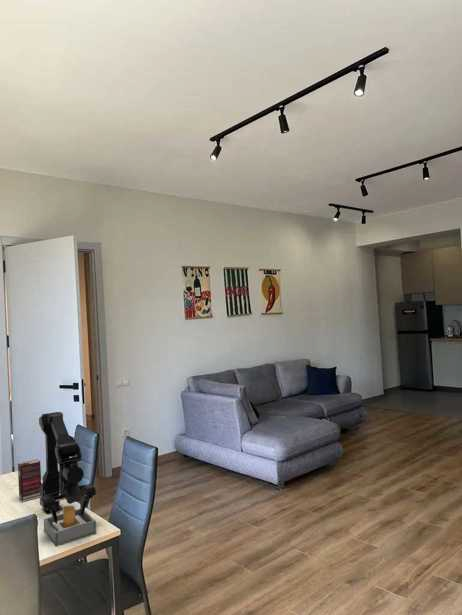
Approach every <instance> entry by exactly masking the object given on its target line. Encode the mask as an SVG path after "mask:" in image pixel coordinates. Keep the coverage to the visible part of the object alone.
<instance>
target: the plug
mask: <svg viewBox="0 0 462 615" xmlns="http://www.w3.org/2000/svg"><path fill="white" fill-rule="evenodd" d="M62 508H63V509H62V514H63V522H64V528H67V527H70V526H74V525H75V510H76V509H75V508H76V506H75V505H66V506H64V507H62Z"/></svg>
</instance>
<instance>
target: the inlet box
mask: <svg viewBox="0 0 462 615" xmlns="http://www.w3.org/2000/svg"><path fill="white" fill-rule="evenodd" d="M43 531H44V534H46V536H47V537H48V538H49V540H50V541H51V542H52V544H53V545H54V546H55V547H58V546H59V547H60V546H62V545H65V544H68V543H71V542H74V541H78V540H80V539H83V538H86V537H89V536H92V535H95V534H97V524H96V520H95V519H94V518H93V517H92V516H91V515H90V514H89V513H88V512H87V511H84V514H83V516H81V512H80V508H76V509H75V525H74V526H70V527H67V528H64V522H63V513H59V514H57V524H56V523H55V521H54V519H53V516H52V515H51V516H50V517H45V518H43Z"/></svg>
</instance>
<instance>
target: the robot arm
mask: <svg viewBox="0 0 462 615" xmlns="http://www.w3.org/2000/svg"><path fill="white" fill-rule="evenodd" d="M63 413H64V412H61V411H54V412H50V413H49V412H48V413H42V414H41V416H40V417H39V418H38V424H39V427H40V430H41V431H42V433H43V434H44V436H45V438H44V440H45V442H44V443H45V444H44V445H45V464H46V465H45V468H46V469H45V470H46V471H45V472H44V474H43V476H42V477H41V487H40V496H41V497H40V498H39V505H40V506H41V507H42V508H41V509H42V511H43V512H44V513H45V514H46V515H48V514H51V517H52V516H53V519H54V521H55V523H56V524H57V515H58V514H57V512H58V511H61V510H62V511H63V508H64V507H62V505H61V502H60V501H64V500H65V501H66V503H67V504H68V505H71V504H74V503H76V502H79V504H80V505H79V509H80V512H81V516H83V514H84V511H85V510H86V507H87V504H88V502H89V500H90V499H93V497H94V496H95V495H97V488H96V487H95V486H94V485H93V484H92V483H88V484H82V485H79V483H80V482H82V480H83V478H84V471H83V468H82V467H81V466H80V465H78V462H80V461H82V457H83V455H82V450H81V448H80V445H79V443H78V442H76V439H75V437H74V436H71V435H70V434H69V431H68V429H67V426H66V423H65V421H64V414H63Z"/></svg>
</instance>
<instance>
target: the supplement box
mask: <svg viewBox="0 0 462 615" xmlns="http://www.w3.org/2000/svg"><path fill="white" fill-rule="evenodd" d="M41 469H42V468H41V461H40V460H39V459H34V460H33V459H32V460H28V461H25V462H24V461H23V462H19V463H17V473H18V474H17V477H18V478H17V480H18V499H19V501H20V502H21V503H24V502H28V501H29V502H30V501H32V500H35V499H40V498H41V496H40V487H41V483H42V470H41Z"/></svg>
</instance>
